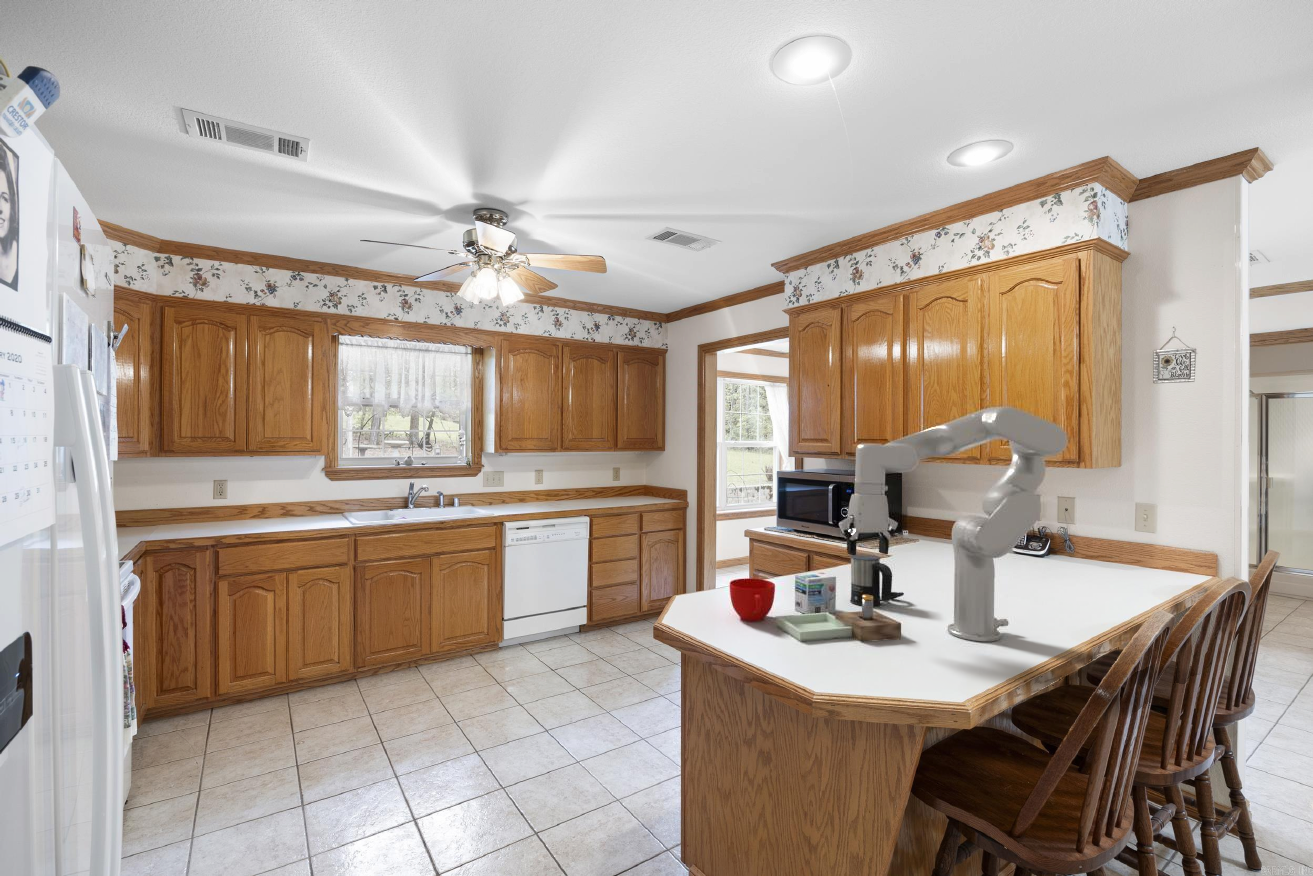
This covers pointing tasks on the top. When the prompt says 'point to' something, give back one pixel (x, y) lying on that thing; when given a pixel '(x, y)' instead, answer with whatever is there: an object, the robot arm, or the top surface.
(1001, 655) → the top surface
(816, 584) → the light bulb box
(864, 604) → the pin
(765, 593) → the ceramic cup
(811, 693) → the top surface
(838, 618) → the block
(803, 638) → the tray
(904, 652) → the top surface
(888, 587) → the milk frother
